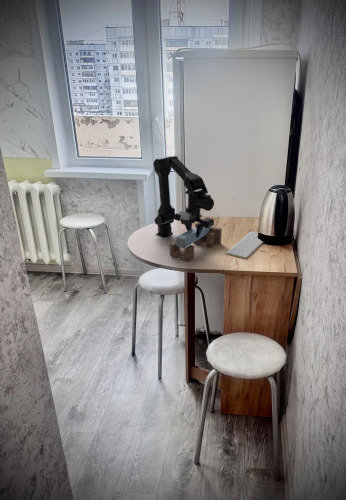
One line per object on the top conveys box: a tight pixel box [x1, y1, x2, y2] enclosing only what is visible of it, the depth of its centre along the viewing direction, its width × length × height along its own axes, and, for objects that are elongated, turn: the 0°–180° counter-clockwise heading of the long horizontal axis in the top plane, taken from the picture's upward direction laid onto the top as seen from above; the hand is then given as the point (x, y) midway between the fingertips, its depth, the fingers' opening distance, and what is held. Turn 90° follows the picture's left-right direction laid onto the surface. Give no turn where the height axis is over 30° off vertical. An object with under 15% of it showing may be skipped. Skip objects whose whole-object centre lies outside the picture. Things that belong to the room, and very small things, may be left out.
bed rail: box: [175, 226, 210, 249], centre depth 182 cm, size 4×22×4 cm, turn 143°
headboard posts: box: [169, 222, 223, 262], centre depth 184 cm, size 14×26×8 cm, turn 143°
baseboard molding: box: [224, 228, 264, 260], centre depth 190 cm, size 31×3×12 cm
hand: (193, 236), depth 182 cm, fingers closed on bed rail, 4 cm apart
